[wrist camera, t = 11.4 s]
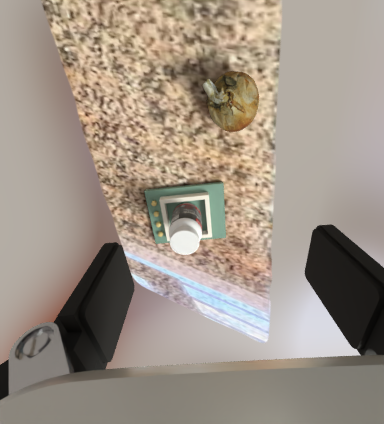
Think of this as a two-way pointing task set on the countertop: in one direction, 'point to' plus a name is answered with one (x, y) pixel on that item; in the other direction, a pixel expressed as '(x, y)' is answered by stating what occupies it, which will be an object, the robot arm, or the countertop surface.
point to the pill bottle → (185, 229)
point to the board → (194, 194)
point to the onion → (232, 100)
